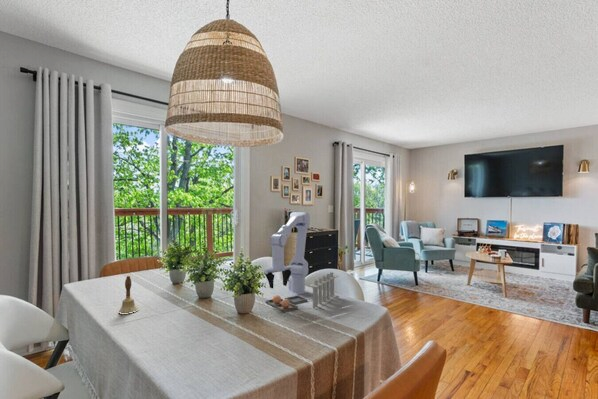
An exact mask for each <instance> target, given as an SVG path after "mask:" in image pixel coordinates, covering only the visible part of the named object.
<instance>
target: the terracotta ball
mask: <svg viewBox="0 0 598 399" xmlns="http://www.w3.org/2000/svg"><path fill="white" fill-rule="evenodd" d="M272 299H273V302H274V303H275V304H278V303H280V301H281V299H282V298H281V295H278V294H275V295H274V296H273V297H272Z"/></svg>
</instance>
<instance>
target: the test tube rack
mask: <svg viewBox="0 0 598 399" xmlns="http://www.w3.org/2000/svg"><path fill="white" fill-rule="evenodd" d="M338 277H339V275H335V274H334V272H333V271H330V272H329V273H326V275H322V277H318V279H314V281H313V283H310V284H309V285H308V287H309V288H312V305H310V306H309V307H308V309H311V310H315V311H317V310H319V309H321V308H322V307H323V306H324V305H326V304H327V303H329V302H331V301H332V300H334V299H336V298H338V297H339V294H335V279H336V278H338Z"/></svg>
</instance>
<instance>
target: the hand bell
mask: <svg viewBox="0 0 598 399" xmlns="http://www.w3.org/2000/svg"><path fill="white" fill-rule="evenodd" d="M124 287H125V290H126V292H125V294H126V295H125V298H124V299H123V300H122V304H121V307H120V309H119V310H118V311H119V312H121V313H129V312H133V311H136V310H137V309H139V308H138V307H137V306H136V304H135V300H134V298H133V297H131V288H132V279H131V276H130V275H126V278H125V281H124Z"/></svg>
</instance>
